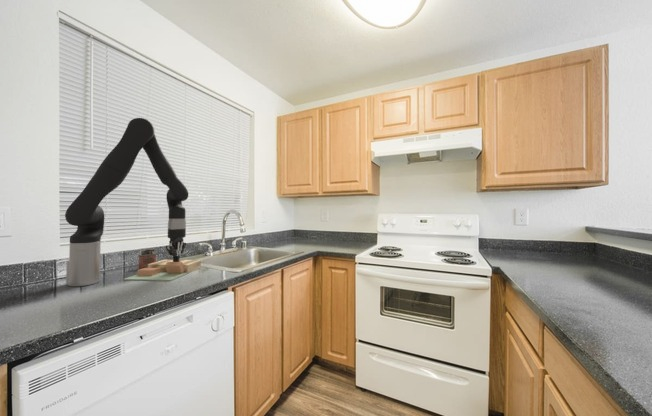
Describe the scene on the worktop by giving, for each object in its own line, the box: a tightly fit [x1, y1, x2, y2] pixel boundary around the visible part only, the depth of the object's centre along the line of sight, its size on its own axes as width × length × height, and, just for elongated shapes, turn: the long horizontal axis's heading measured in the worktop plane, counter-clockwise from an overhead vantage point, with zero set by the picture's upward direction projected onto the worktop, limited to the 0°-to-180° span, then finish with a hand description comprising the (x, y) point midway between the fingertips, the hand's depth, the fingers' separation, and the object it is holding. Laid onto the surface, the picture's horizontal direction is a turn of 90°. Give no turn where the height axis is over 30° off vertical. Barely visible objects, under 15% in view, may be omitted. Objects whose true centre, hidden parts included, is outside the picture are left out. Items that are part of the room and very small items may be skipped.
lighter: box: [137, 248, 157, 270], centre depth 131 cm, size 8×3×10 cm, turn 147°
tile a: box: [136, 268, 160, 276], centre depth 116 cm, size 7×5×2 cm
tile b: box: [165, 262, 185, 273], centre depth 119 cm, size 7×5×2 cm
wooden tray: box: [148, 259, 202, 274], centre depth 127 cm, size 20×12×4 cm, turn 89°
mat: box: [123, 272, 189, 282], centre depth 114 cm, size 21×13×1 cm, turn 89°
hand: (176, 263), depth 120 cm, fingers closed
